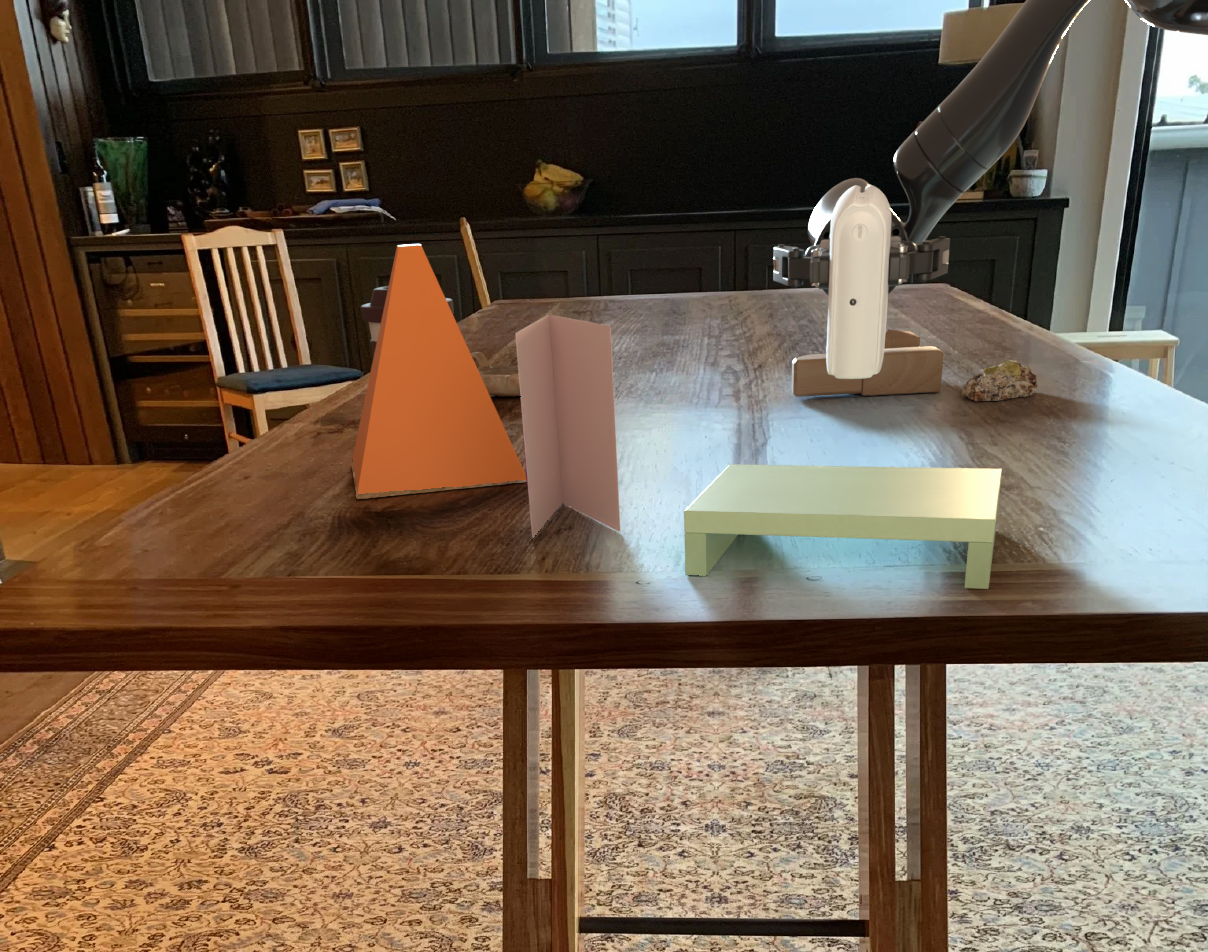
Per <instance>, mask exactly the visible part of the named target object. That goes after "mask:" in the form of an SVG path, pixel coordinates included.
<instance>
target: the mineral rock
mask: <svg viewBox="0 0 1208 952" xmlns="http://www.w3.org/2000/svg"><path fill="white" fill-rule="evenodd" d="M983 372H984V373H978V374H977V375H973V376H972V377H971V378H969V379H968V380H967V381H966V384H964V385H963V389H962V390H961V395H962V396H963V397H966V398H968V399H969V400H973V401H974V402H999V401H1007V400H1010V399H1014V398H1015V399H1016V398H1027V397H1030V396H1033V395H1034V394H1036V393H1037V388H1038V379H1037V374H1035V372H1034V371H1033V370H1032V368H1031V367H1030V366H1026V365H1024V364H1021V363H1020V362H1018V361H1017V360H1012V359H1007V360H1005V361H1003V362H1002V363H999V364H998V365H997V364H996V365H991V366H988V367H986V368H984V369H983Z"/></svg>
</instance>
